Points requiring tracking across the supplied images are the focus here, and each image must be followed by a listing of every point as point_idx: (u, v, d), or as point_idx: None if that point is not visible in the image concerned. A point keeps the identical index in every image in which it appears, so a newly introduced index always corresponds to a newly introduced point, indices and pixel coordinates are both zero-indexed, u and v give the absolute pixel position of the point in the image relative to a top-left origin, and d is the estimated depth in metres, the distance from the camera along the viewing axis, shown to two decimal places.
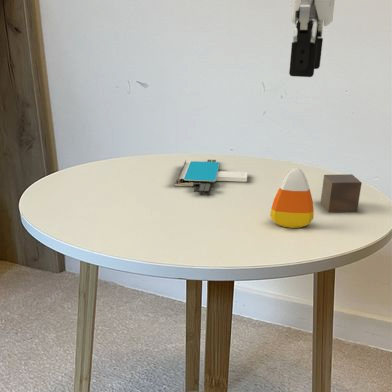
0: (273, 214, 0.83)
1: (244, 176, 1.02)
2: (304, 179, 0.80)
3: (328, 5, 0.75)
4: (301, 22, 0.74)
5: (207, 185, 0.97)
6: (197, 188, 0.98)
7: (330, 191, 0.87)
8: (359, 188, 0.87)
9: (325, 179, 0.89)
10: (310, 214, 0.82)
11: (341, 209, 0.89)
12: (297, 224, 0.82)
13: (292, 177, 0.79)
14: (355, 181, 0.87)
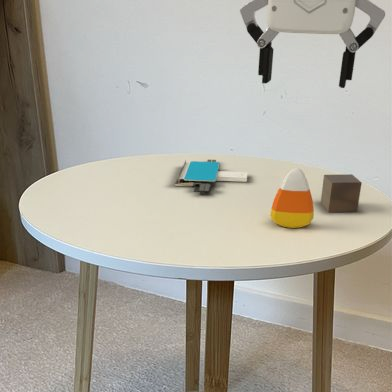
0: (273, 214, 0.83)
1: (244, 176, 1.02)
2: (304, 179, 0.80)
3: (269, 9, 0.71)
4: None
5: (207, 185, 0.97)
6: (197, 188, 0.98)
7: (330, 191, 0.87)
8: (359, 188, 0.87)
9: (325, 179, 0.89)
10: (310, 214, 0.82)
11: (341, 209, 0.89)
12: (297, 224, 0.82)
13: (292, 177, 0.79)
14: (355, 181, 0.87)
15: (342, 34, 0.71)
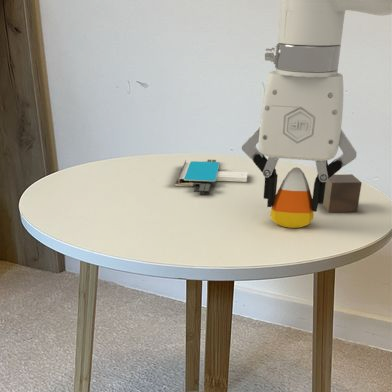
0: (273, 214, 0.83)
1: (244, 176, 1.02)
2: (304, 179, 0.80)
3: (260, 137, 0.76)
4: None
5: (207, 185, 0.97)
6: (197, 188, 0.98)
7: (330, 191, 0.87)
8: (359, 188, 0.87)
9: None
10: (310, 214, 0.82)
11: (341, 209, 0.89)
12: (297, 224, 0.82)
13: (292, 177, 0.79)
14: (355, 181, 0.87)
15: (318, 163, 0.77)
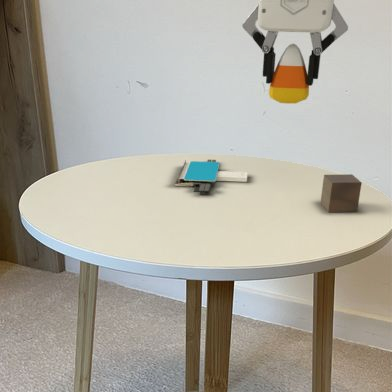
0: (271, 91, 0.89)
1: (244, 176, 1.02)
2: (300, 54, 0.86)
3: (260, 11, 0.83)
4: None
5: (207, 185, 0.97)
6: (197, 188, 0.98)
7: (330, 191, 0.87)
8: (359, 188, 0.87)
9: (325, 179, 0.89)
10: (305, 90, 0.88)
11: (341, 209, 0.89)
12: (293, 99, 0.89)
13: (289, 52, 0.86)
14: (355, 181, 0.87)
15: (313, 36, 0.84)
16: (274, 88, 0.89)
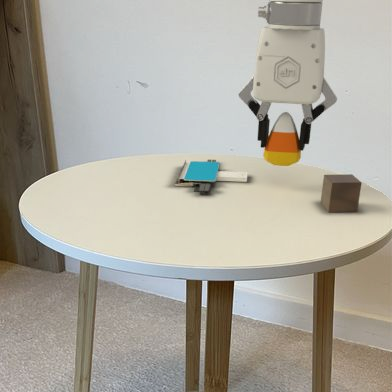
0: (266, 154, 0.95)
1: (244, 176, 1.02)
2: (292, 122, 0.93)
3: (254, 84, 0.89)
4: None
5: (207, 185, 0.97)
6: (197, 188, 0.98)
7: (330, 191, 0.87)
8: (359, 188, 0.87)
9: (325, 179, 0.89)
10: (297, 154, 0.95)
11: (341, 209, 0.89)
12: (286, 162, 0.95)
13: (282, 120, 0.92)
14: (355, 181, 0.87)
15: (304, 107, 0.90)
16: (268, 152, 0.95)
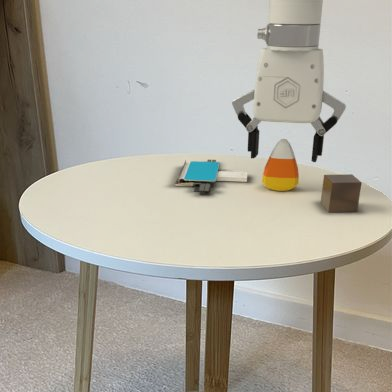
0: (264, 179, 0.97)
1: (244, 176, 1.02)
2: (290, 149, 0.95)
3: (255, 104, 0.91)
4: None
5: (207, 185, 0.97)
6: (197, 188, 0.98)
7: (330, 191, 0.87)
8: (359, 188, 0.87)
9: (325, 179, 0.89)
10: (295, 179, 0.97)
11: (341, 209, 0.89)
12: (284, 187, 0.97)
13: (280, 147, 0.94)
14: (355, 181, 0.87)
15: (312, 122, 0.91)
16: (267, 177, 0.97)
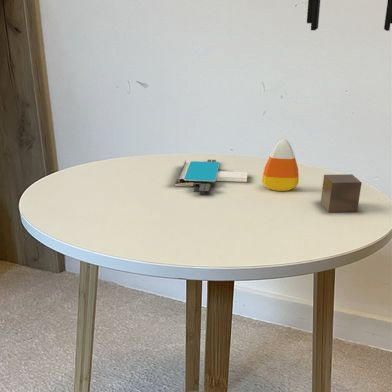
0: (264, 179, 0.97)
1: (244, 176, 1.02)
2: (290, 149, 0.95)
3: None
4: None
5: (207, 185, 0.97)
6: (197, 188, 0.98)
7: (330, 191, 0.87)
8: (359, 188, 0.87)
9: (325, 179, 0.89)
10: (295, 179, 0.97)
11: (341, 209, 0.89)
12: (284, 187, 0.97)
13: (280, 147, 0.94)
14: (355, 181, 0.87)
15: None
16: (267, 177, 0.97)
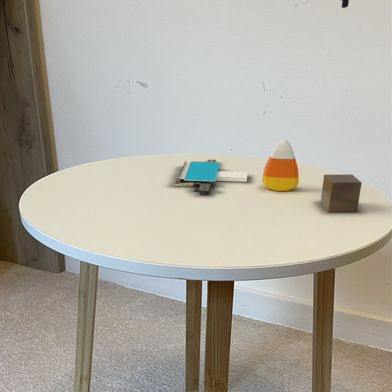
0: (264, 179, 0.97)
1: (244, 176, 1.02)
2: (290, 149, 0.95)
3: None
4: None
5: (207, 185, 0.97)
6: (197, 188, 0.98)
7: (330, 191, 0.87)
8: (359, 188, 0.87)
9: (325, 179, 0.89)
10: (295, 179, 0.97)
11: (341, 209, 0.89)
12: (284, 187, 0.97)
13: (280, 147, 0.94)
14: (355, 181, 0.87)
15: None
16: (267, 177, 0.97)
